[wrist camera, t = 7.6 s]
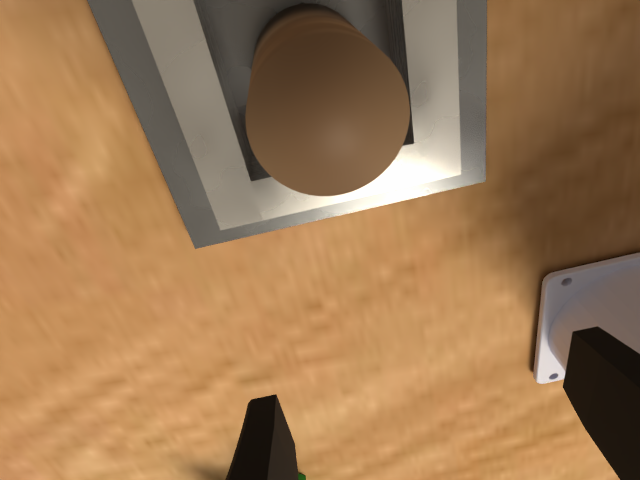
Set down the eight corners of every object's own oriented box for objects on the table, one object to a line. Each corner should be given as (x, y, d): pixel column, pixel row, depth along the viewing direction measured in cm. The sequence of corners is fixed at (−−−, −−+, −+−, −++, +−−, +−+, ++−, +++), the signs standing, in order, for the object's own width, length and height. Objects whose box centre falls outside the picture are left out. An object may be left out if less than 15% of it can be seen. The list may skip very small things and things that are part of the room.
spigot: (356, -7, 14) (405, 17, 9) (367, 108, 16) (412, 181, 11) (241, 14, 14) (226, 50, 9) (266, 126, 16) (265, 208, 11)
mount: (478, -228, 12) (532, -270, 10) (479, 175, 19) (511, 207, 16) (42, -121, 12) (-9, -137, 10) (197, 240, 19) (188, 282, 16)
